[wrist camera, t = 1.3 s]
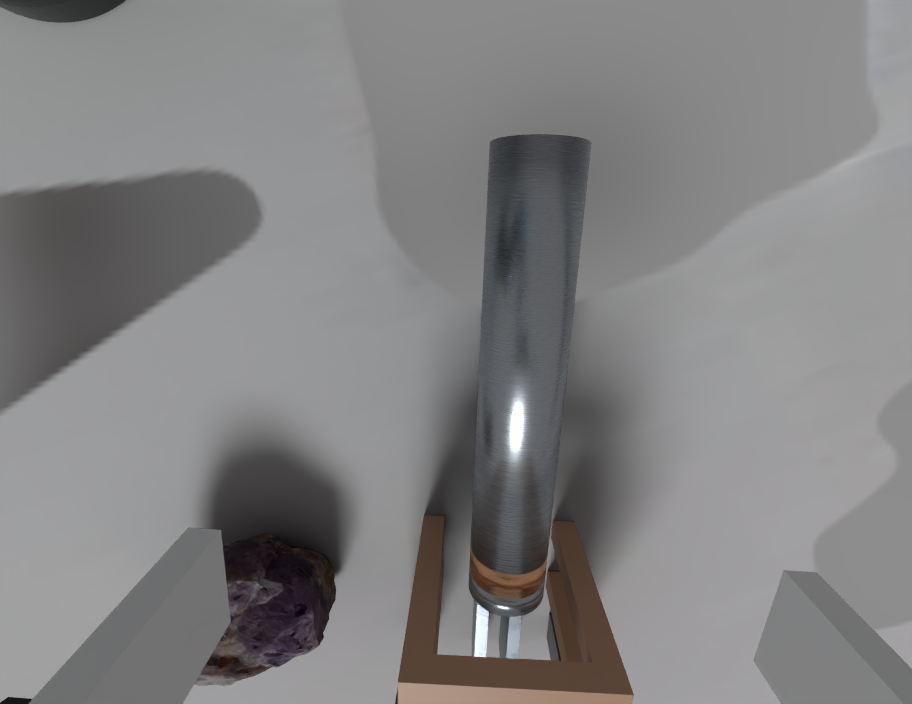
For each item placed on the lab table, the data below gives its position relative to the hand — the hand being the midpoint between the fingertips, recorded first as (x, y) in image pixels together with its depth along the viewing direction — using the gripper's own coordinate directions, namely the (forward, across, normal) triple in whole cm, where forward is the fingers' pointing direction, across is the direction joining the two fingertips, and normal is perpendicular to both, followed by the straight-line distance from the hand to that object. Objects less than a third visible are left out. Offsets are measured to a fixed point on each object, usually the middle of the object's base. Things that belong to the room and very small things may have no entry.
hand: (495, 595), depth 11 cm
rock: (+20, -15, -18) cm, 31 cm away
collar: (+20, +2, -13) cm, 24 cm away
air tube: (+15, +2, 0) cm, 15 cm away
